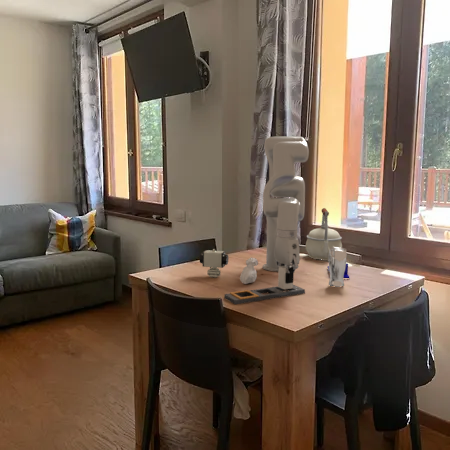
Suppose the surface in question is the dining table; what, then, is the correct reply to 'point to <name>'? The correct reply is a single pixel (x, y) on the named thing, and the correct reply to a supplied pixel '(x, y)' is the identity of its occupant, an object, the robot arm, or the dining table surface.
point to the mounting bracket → (344, 272)
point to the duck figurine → (249, 271)
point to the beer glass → (337, 266)
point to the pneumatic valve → (214, 261)
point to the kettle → (322, 240)
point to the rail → (257, 294)
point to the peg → (283, 278)
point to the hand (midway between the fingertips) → (285, 280)
